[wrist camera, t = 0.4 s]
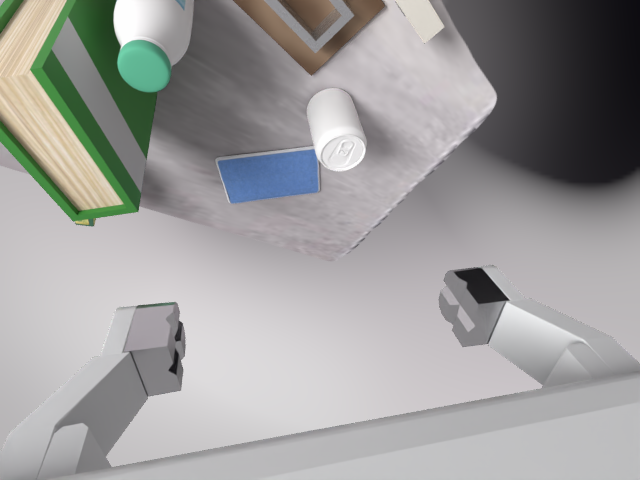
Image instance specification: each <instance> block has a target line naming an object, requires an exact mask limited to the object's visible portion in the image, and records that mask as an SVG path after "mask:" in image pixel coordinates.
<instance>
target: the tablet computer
mask: <svg viewBox="0 0 640 480" xmlns="http://www.w3.org/2000/svg"><path fill="white" fill-rule="evenodd" d="M215 161H216V165H217V168H218V171H219V174H220V177H221V181H222V184H223V187H224V190H225V193H226V196H227V199H228V202H229V203H231V204H236V203H243V202H251V201H258V200H266V199H273V198H281V197H289V196H297V195H305V194H312V193H318V192H319V191H320V181H319V160H318V158H317V156H316V153H315V149H314V146H308V147H301V148H293V149H284V150H276V151H268V152H259V153H250V154H241V155H231V156H222V157H217V158H216V159H215Z"/></svg>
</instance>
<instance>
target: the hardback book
mask: <svg viewBox="0 0 640 480" xmlns="http://www.w3.org/2000/svg"><path fill="white" fill-rule="evenodd" d="M115 5H116V0H5V1H4V2H3V4H2V5H1V6H0V142H1V143H2V144H3V145H4V146H5V147H6V148H7V149H8V151H9V152H10V153H11V154H12V155H13V156H14V157H15V158H16V159H17V160H18V161H19V163H20V164H21V165H22V166H23V167H24V168H25V169H26V170H27V171H28V172H29V174H30V175H31V176H32V177H33V178H34V179H35V180H36V181H37V182H38V183H39V184H40V186H41V187H42V188H43V189H44V190H45V191H46V192H47V193H48V194H49V195H50V197H51V198H52V199H53V200H54V201H55V202H56V203H57V204H58V205H59V206H60V207H61V209H62V210H63V211H64V212H65V213H66V214H67V215H68V216H69V217H70V218H71V220H72V221H80V220H87V219H93V218H100V217H107V216H113V215H120V214H126V213H134V212H138V210H139V204H140V198H141V191H142V185H143V179H144V173H145V166H146V160H147V154H148V148H149V142H150V135H151V129H152V123H153V117H154V111H155V104H156V98H157V92H151V93H150V92H143V91H139V90H137V89H135V88H133V87H132V86H130V85H129V84H128V83H127V82H126V81H125V80H124V79H123V78H122V76H121V74H120V72H119V69H118V64H117V61H118V55H119V52H120V49H121V45H120V44H119V42H118V39H117V36H116V33H115V29H114V21H113V20H114V9H115Z"/></svg>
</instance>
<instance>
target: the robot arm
mask: <svg viewBox="0 0 640 480" xmlns="http://www.w3.org/2000/svg"><path fill="white" fill-rule="evenodd" d="M444 282H445V283H446V286H445V287H444V288H443V289H442V290H441V292H440V296H439V307H440V310H441V313H442V315H443V316H444V318H445V319H446V320H447V321H448V322H450V323H452V324H453V329H452V331H453V332H454V334H455V336H456V337H457V339H458V340H459V342H460V343H461V345H462V347H467V346H475V345H483V344H488V346H490V347H491V348H493V349H494V350H495V351H497V352H498V353H499V354H501V355H502V356H504V357H505V358H506V359H508V360H509V361H510V362H512V363H513V364H515V365H516V366H517V367H519V368H520V369H521V370H523V371H524V372H526V373H527V374H528V375H530V376H531V377H533V378H534V379H535V380H537V381H538V382H539V383H541V384H542V385H543V386H542V388H541V389H536V390H531V391H526V392H520V393H514V394H509V395H503V396H498V397H492V398H487V399H482V400H477V401H471V402H466V403H460V404H455V405H450V406H444V407H438V408H433V409H427V410H422V411H417V412H411V413H406V414H400V415H395V416H390V417H384V418H379V419H373V420H368V421H363V422H357V423H351V424H346V425H340V426H335V427H330V428H324V429H319V430H313V431H307V432H302V433H296V434H291V435H286V436H280V437H275V438H270V439H263V440H258V441H253V442H247V443H242V444H236V445H231V446H225V447H220V448H214V449H209V450H204V451H199V452H193V453H187V454H182V455H176V456H171V457H165V458H160V459H154V460H150V461H144V462H138V463H133V464H127V465H122V466H116V467H111V465H110V464H109V462H108V460H107V458H106V455H107V454H108V453H109V451H110V450H111V449H112V447H113V446H114V444H115V443H116V442H117V440H118V439H119V437H120V436H121V435H122V433H123V432H124V431H125V429H126V428H127V426H128V425H129V424H130V422H131V421H132V420H133V418H134V417H135V416H136V414H137V413H138V411H139V410H140V409H141V407H142V406H143V405H144V403H145V402H146V400H147V399H148V396H154V395H159V394H165V393H170V392H176V391H180V390H181V385H182V376H183V367H182V363H181V360H182V359H183V357H184V356H185V332H184V327H183V323H182V322H180V321H179V314H180V311H179V307H178V304H177V303H176V302H171V303H159V304H149V305H138V306H131V307H120V308H118V309H117V310H116V311H115V312H114V315H113V318H112V321H111V324H110V327H109V331H108V333H107V336H106V339H105V343H104V346H103V349H102V352H101V355H100V356H96V357H93V358H92V359H91V360H90V361H89V362H88V363H87V364H85V365H84V366H83V367H82V368H81V369H80V370H79V371H78V372H77V373H76V374H74V375H73V376H72V377H71V378H70V379H69V380H68V381H67V382H65V383H64V384H63V385H62V386H61V387H60V388H59V389H58V390H57V391H55V392H54V393H53V394H52V395H51V396H50V397H49V398H48V399H47V400H46V401H45V402H43V403H42V404H41V405H40V406H39V407H38V408H37V409H36V410H34V411H33V412H32V413H31V414H30V415H29V416H28V417H27V418H26V419H25V420H23V421H22V422H21V423H20V424H19V425H18V426H17V427H16V428H14V429H13V430H12V431H11V432H10V433H9V435H8V437H7V439H6V441H5V443H4V445H3V448H2V450H1V452H0V480H640V363H639V362H638V361H637V360H636V359H635V358H634V357H633V356H632V355H630V354H629V353H628V352H627V351H626V350H625V349H624V348H623V347H622V346H621V345H620V344H619V343H618V342H617V341H616V340H615V339H613V337H611V336H609V335H607V334H605V333H603V332H601V331H599V330H597V329H595V328H592V327H590V326H588V325H586V324H584V323H582V322H580V321H577V320H575V319H573V318H571V317H569V316H567V315H565V314H563V313H561V312H558V311H556V310H554V309H552V308H550V307H548V306H546V305H544V304H542V303H539V302H537V301H535V300H533V299H531V298H529V299H526V298H525V297H524V296H523V295H522V294H521V293H520V292H519V290H518V289H517V288H516V287H515V286H514V285H513V284H512V283H511V282H510V281H509V280H508V279H507V277H506V276H505V275H504V274H503V273H502V272H501V271H500V270H499V269H498V268H497V267H496V266H494V265H489V266H481V267H476V268H475V267H474V268H466V269H458V270H450V271H448V272H447V273H446V274H445V278H444Z"/></svg>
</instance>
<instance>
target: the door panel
mask: <svg viewBox="0 0 640 480" xmlns="http://www.w3.org/2000/svg"><path fill="white" fill-rule="evenodd" d="M395 2H396V4H397V5H398V7H399V8H400V10H401V11H402V13H403V14H404V16H406V17H407V19H408V20H409V22H410V23H411V25H412V26H413V28H414V29H415V31H416V32H417V34H418V35H419V37H420V38H421V40H422V41H423V42H424V44H425V43H426V42H427V41H429V40H430V39H431V38H432V37H433V36H434V35H436V34H437V33H438V32H439V31H440V30H442V29H443V28H444V25H443V23H442V22H441V20H440V18H439V17H438V15H437V13H436V12H435V10H434V8H433V7H432V5H431V3H430V2H429V0H395Z"/></svg>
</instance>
